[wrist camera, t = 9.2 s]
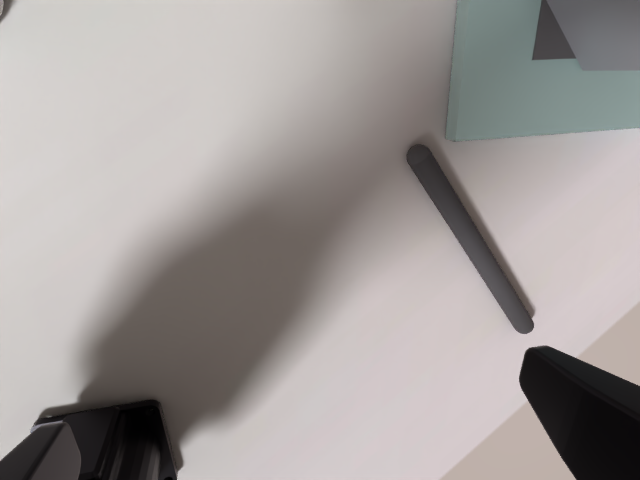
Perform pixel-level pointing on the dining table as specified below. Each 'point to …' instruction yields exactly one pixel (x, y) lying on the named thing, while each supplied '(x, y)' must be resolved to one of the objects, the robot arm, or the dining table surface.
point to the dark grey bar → (468, 235)
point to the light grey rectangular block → (601, 32)
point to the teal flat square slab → (528, 77)
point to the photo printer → (1, 6)
